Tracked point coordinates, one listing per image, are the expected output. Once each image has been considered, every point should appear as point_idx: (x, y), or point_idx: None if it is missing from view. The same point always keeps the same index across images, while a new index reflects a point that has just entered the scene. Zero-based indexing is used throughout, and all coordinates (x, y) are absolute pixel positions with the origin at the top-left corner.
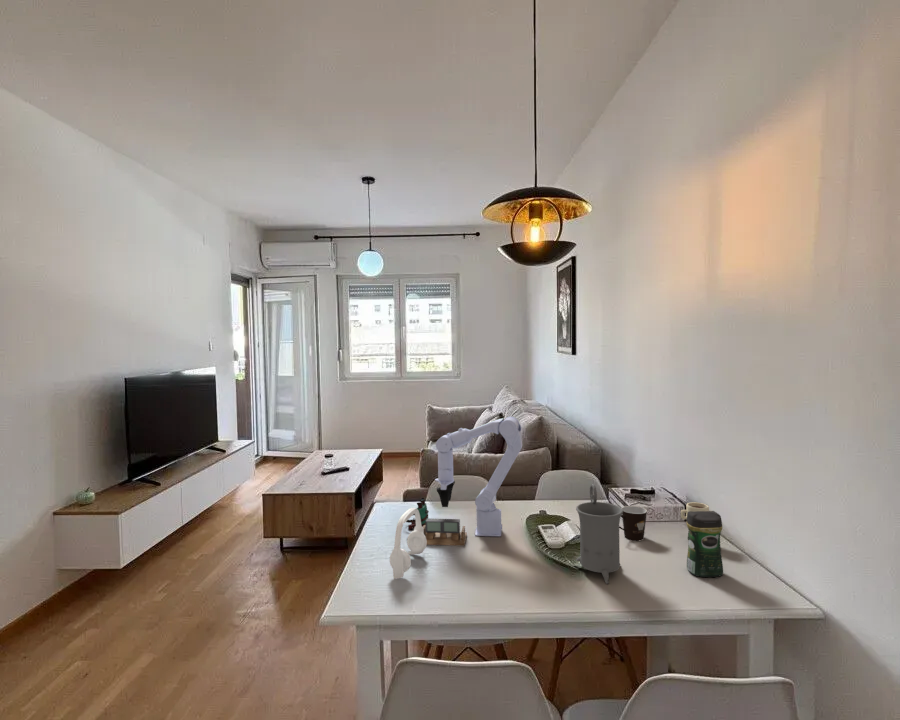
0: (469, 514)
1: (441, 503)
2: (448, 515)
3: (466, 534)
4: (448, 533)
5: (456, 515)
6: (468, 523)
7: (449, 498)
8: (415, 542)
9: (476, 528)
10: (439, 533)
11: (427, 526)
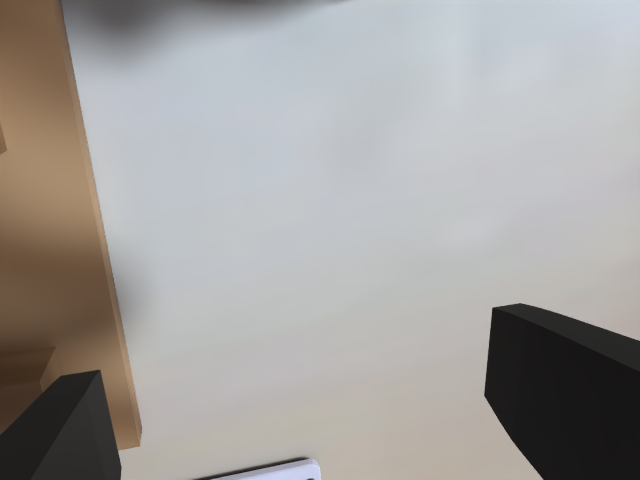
0: (628, 322)
1: (11, 424)
2: (627, 152)
3: None
4: (58, 295)
5: (619, 225)
6: (428, 367)
7: (511, 413)
8: None
9: (280, 474)
10: (24, 199)
11: None
